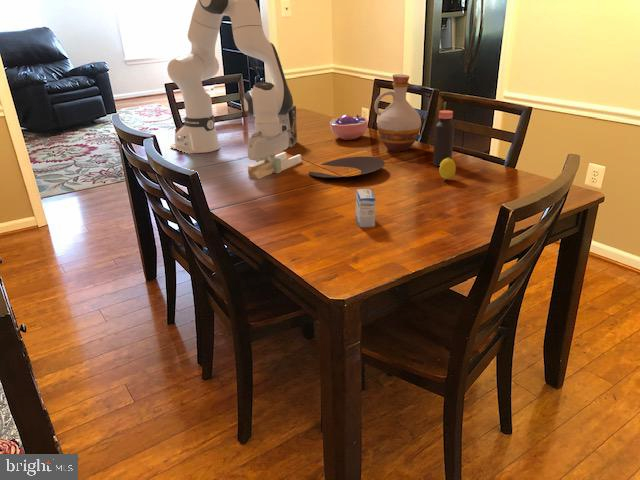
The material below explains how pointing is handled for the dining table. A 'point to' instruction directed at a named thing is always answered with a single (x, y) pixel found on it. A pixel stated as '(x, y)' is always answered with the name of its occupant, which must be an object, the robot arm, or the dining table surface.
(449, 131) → the bottle
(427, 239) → the dining table surface
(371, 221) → the medicine box
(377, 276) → the dining table surface
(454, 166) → the lemon
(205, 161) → the dining table surface
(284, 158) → the green-tipped fork clamp
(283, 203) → the dining table surface
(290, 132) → the coffee box
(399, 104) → the jug
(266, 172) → the maple block
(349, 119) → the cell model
